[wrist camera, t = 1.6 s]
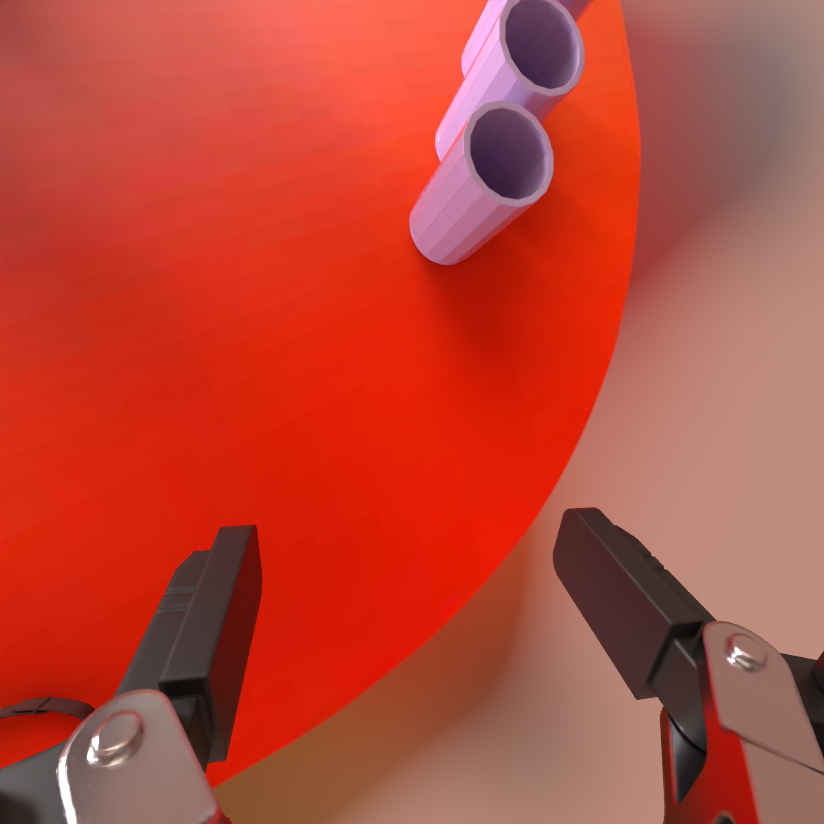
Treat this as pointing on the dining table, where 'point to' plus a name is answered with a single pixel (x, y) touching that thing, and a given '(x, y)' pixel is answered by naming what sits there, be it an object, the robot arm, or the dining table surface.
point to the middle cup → (519, 65)
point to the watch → (48, 707)
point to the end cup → (482, 182)
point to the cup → (575, 3)
